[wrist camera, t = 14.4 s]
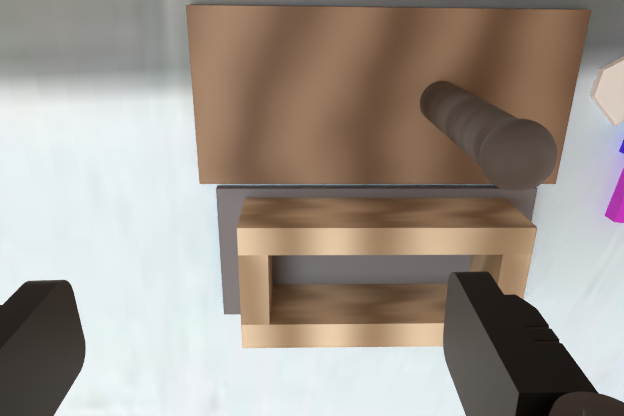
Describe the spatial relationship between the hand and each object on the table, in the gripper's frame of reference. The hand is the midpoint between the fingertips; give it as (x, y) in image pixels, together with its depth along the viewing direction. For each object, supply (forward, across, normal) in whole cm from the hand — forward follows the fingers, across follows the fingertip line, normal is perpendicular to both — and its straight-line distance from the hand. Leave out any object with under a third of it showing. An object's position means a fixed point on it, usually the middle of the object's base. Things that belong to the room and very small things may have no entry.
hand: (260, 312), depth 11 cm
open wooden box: (+23, -5, +11) cm, 26 cm away
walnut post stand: (+24, -6, 0) cm, 25 cm away
